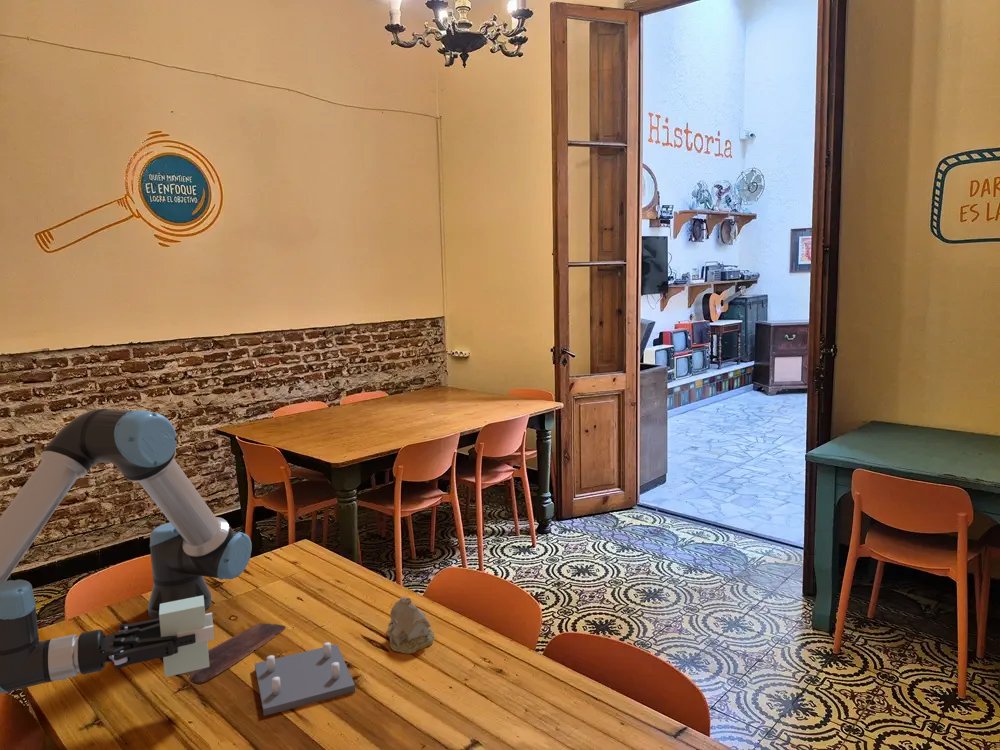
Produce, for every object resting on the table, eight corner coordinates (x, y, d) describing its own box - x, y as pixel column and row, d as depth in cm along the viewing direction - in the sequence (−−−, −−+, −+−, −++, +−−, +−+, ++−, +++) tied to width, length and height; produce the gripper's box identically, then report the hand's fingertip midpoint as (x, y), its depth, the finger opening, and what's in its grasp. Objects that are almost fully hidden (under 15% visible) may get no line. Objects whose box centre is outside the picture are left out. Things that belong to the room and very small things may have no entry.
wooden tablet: (261, 616, 170) (291, 620, 165) (263, 625, 170) (292, 628, 165) (169, 671, 146) (201, 676, 142) (171, 680, 146) (202, 686, 142)
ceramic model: (443, 644, 157) (442, 604, 156) (398, 658, 151) (397, 616, 150) (417, 620, 169) (416, 582, 168) (375, 632, 163) (374, 593, 162)
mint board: (165, 664, 135) (159, 603, 133) (208, 654, 138) (203, 595, 137) (164, 677, 130) (159, 614, 129) (209, 666, 134) (204, 605, 132)
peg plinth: (255, 669, 147) (253, 650, 147) (337, 650, 155) (336, 631, 154) (264, 716, 131) (262, 694, 131) (355, 691, 139) (354, 671, 138)
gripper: (87, 649, 135) (212, 622, 144) (74, 699, 118) (216, 665, 128) (83, 614, 133) (210, 590, 143) (69, 659, 117) (213, 628, 127)
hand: (212, 625), depth 136 cm, fingers closed on mint board, 5 cm apart
